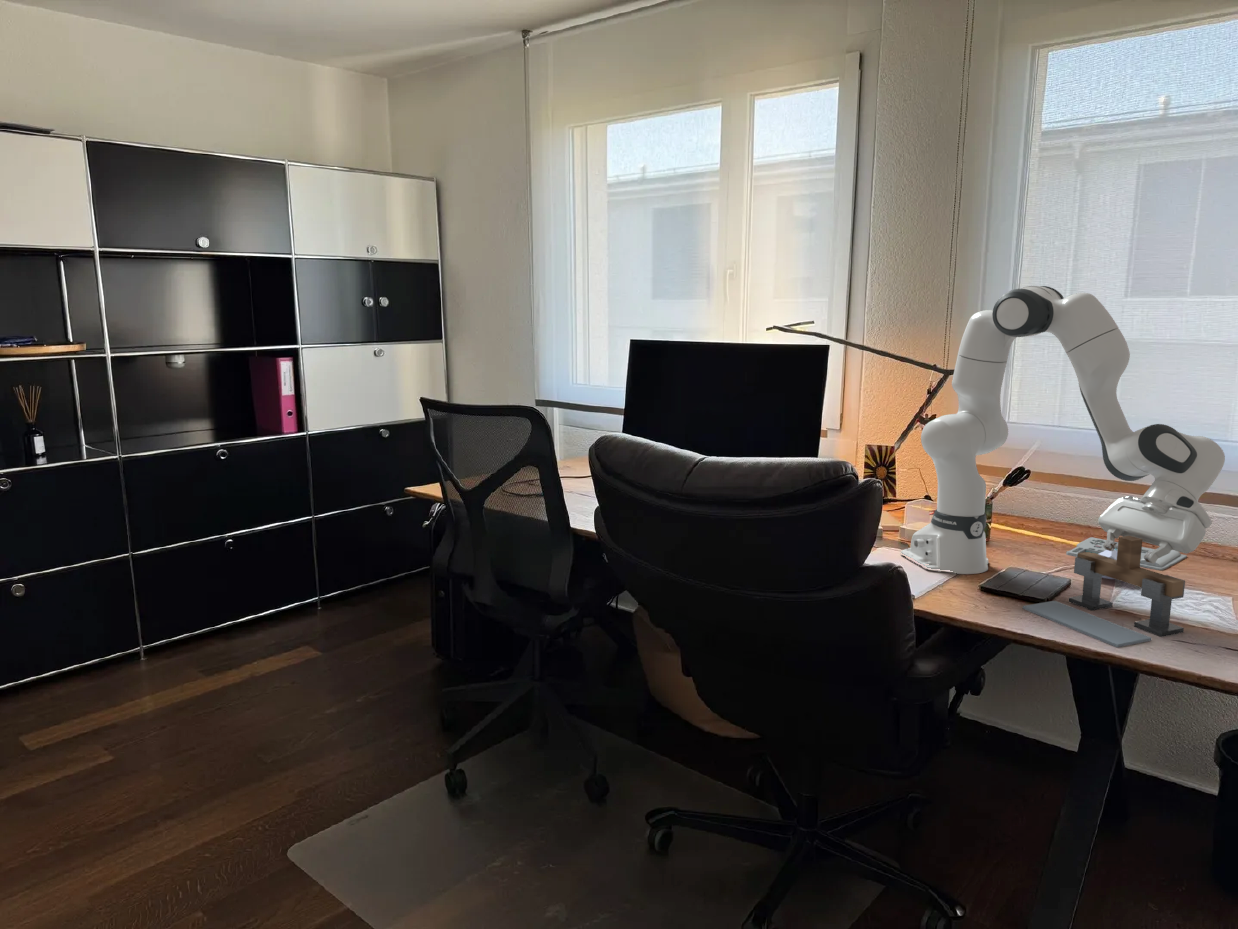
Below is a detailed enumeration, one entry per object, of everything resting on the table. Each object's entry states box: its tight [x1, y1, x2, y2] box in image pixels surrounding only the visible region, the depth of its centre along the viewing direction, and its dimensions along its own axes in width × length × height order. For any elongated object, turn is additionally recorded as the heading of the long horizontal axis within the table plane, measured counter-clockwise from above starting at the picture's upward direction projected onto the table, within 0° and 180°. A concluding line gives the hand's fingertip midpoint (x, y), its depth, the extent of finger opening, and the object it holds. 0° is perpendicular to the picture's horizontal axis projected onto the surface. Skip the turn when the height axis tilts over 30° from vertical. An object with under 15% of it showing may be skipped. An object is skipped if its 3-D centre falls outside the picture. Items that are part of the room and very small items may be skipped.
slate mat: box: [1022, 600, 1152, 648], centre depth 174 cm, size 23×9×1 cm, turn 20°
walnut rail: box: [1077, 536, 1184, 597], centre depth 176 cm, size 22×3×9 cm, turn 20°
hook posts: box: [1068, 554, 1186, 638], centre depth 177 cm, size 22×7×10 cm, turn 20°
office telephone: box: [1065, 536, 1188, 571], centre depth 220 cm, size 23×3×20 cm
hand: (1127, 554), depth 175 cm, fingers open, 8 cm apart
